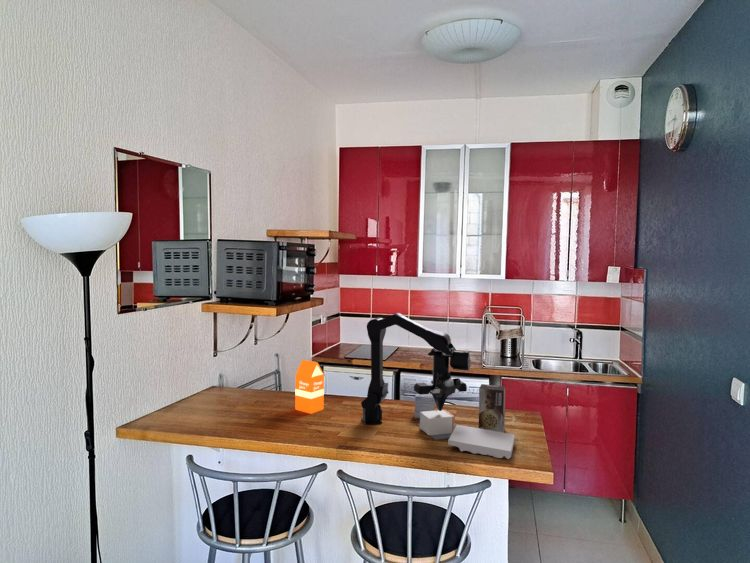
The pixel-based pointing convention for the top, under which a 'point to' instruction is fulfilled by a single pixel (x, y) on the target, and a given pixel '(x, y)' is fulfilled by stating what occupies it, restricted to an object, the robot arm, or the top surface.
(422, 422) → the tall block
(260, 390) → the top surface
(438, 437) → the mat
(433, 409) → the medicine box
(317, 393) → the orange juice
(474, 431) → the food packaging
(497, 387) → the coffee box
